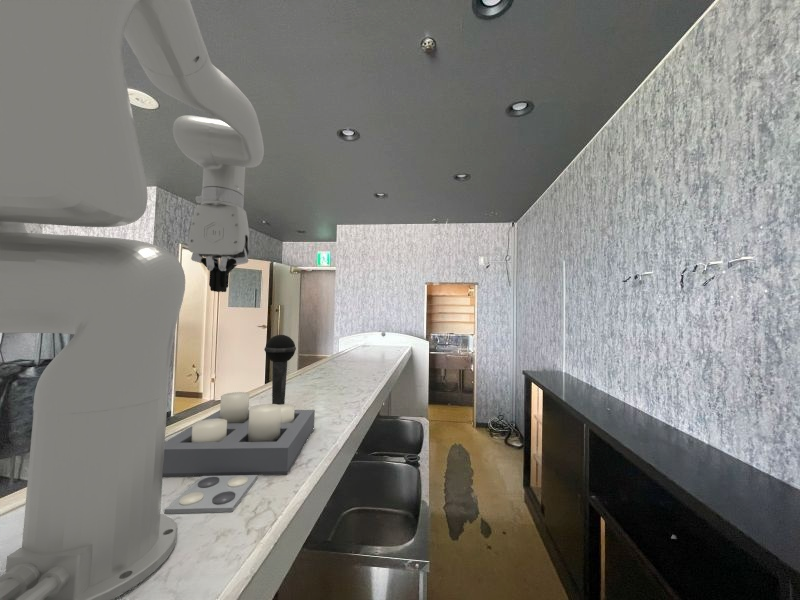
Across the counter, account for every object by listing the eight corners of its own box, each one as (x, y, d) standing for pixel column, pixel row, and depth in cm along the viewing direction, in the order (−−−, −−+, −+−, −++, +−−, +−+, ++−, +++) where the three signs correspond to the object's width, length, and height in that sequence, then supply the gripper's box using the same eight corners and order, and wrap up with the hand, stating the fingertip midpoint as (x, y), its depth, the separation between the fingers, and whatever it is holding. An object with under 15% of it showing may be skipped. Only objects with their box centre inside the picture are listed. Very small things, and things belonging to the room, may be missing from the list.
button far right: (289, 438, 59) (290, 411, 60) (262, 438, 59) (263, 411, 59) (296, 428, 64) (297, 404, 64) (271, 429, 64) (272, 404, 64)
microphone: (271, 430, 66) (275, 335, 67) (255, 423, 70) (259, 334, 71) (299, 422, 71) (302, 334, 73) (282, 416, 75) (285, 333, 77)
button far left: (241, 425, 59) (242, 398, 59) (214, 425, 58) (215, 398, 59) (252, 416, 64) (253, 392, 64) (227, 416, 63) (228, 392, 64)
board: (287, 474, 47) (288, 447, 48) (149, 477, 46) (151, 449, 46) (314, 428, 67) (314, 409, 68) (218, 429, 66) (219, 410, 66)
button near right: (274, 443, 50) (275, 412, 51) (242, 443, 50) (244, 412, 50) (283, 432, 55) (284, 403, 56) (255, 432, 55) (256, 403, 55)
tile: (232, 511, 38) (232, 505, 38) (164, 513, 38) (164, 507, 38) (257, 478, 46) (257, 473, 46) (201, 479, 46) (202, 474, 46)
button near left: (216, 460, 50) (217, 428, 50) (183, 460, 49) (185, 428, 50) (231, 447, 55) (232, 418, 55) (201, 447, 54) (203, 418, 55)
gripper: (173, 194, 60) (167, 288, 59) (253, 197, 61) (248, 290, 60) (196, 208, 67) (191, 292, 66) (266, 210, 68) (263, 293, 67)
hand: (218, 291), depth 63 cm, fingers closed
